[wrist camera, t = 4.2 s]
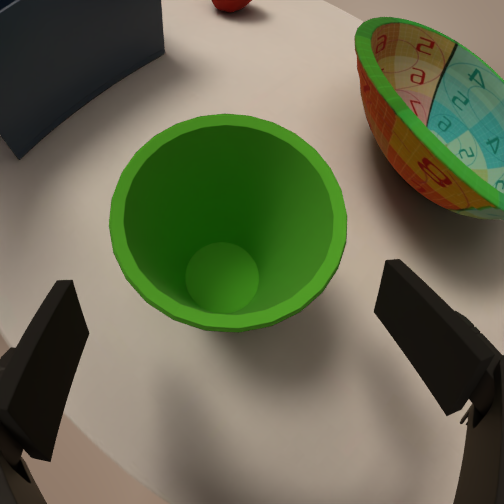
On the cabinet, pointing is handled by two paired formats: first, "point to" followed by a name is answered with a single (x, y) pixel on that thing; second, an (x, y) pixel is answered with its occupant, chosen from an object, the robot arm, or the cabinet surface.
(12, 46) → the box
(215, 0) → the apple
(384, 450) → the cabinet surface
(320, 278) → the cup
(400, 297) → the robot arm
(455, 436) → the cabinet surface
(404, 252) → the cabinet surface
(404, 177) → the bowl
